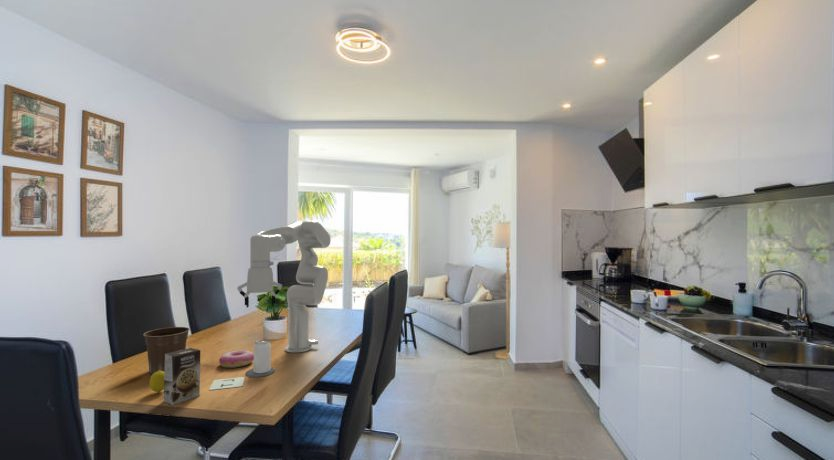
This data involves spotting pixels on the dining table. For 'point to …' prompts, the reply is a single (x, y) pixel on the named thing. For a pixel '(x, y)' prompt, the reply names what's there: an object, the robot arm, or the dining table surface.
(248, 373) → the coaster
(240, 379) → the card
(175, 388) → the coffee box
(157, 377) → the lemon
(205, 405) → the dining table surface
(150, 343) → the plant pot
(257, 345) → the can
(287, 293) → the robot arm
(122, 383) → the dining table surface
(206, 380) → the dining table surface
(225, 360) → the donut
